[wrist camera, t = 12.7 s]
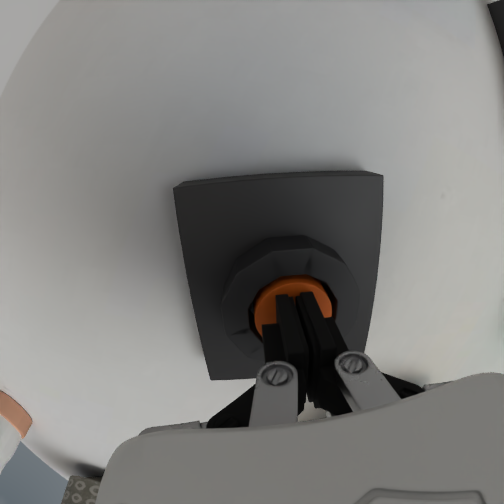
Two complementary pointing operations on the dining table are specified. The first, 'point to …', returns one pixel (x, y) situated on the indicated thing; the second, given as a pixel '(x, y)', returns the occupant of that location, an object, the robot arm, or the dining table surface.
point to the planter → (81, 490)
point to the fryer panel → (498, 19)
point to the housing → (277, 253)
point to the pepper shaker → (11, 427)
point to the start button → (293, 288)
